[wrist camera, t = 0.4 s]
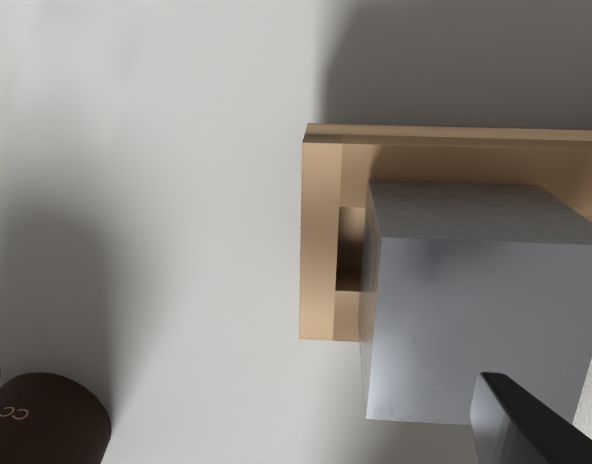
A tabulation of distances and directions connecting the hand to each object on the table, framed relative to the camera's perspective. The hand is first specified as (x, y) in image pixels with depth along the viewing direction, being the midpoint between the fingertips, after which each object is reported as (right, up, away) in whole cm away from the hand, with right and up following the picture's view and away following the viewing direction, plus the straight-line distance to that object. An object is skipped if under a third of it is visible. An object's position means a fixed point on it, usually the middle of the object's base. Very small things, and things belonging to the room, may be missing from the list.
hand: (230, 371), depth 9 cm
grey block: (+6, +2, +8) cm, 10 cm away
